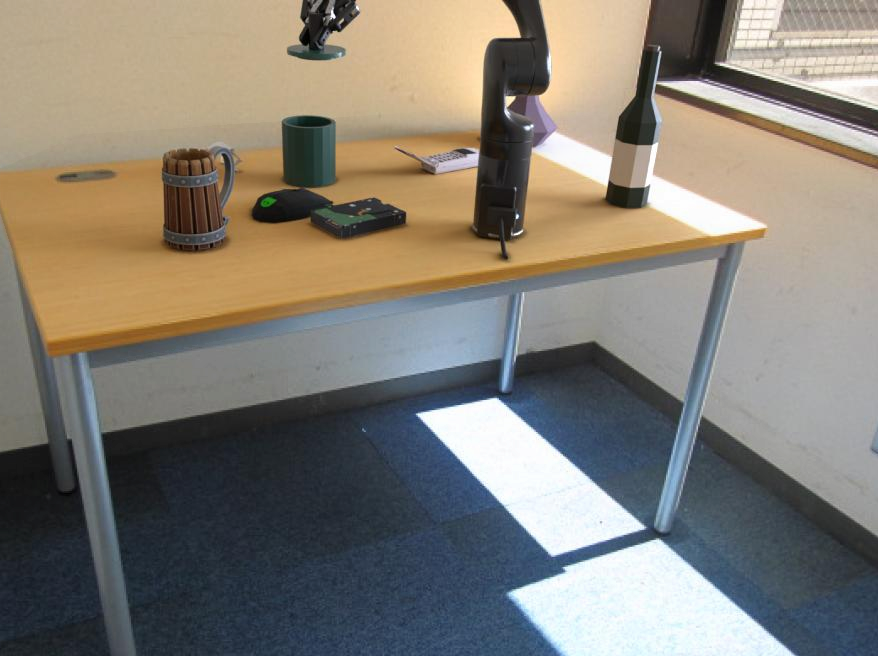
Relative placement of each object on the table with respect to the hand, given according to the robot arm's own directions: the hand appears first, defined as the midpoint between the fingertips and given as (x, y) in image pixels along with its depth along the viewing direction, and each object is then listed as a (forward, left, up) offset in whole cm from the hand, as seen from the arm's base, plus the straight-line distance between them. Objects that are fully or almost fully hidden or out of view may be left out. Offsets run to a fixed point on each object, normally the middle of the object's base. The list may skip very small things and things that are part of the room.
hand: (309, 44), depth 172 cm
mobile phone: (+19, -25, -27) cm, 41 cm away
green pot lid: (+2, -1, -2) cm, 3 cm away
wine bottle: (+10, -65, -27) cm, 71 cm away
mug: (-39, +5, -27) cm, 48 cm away
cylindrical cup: (0, 0, -27) cm, 27 cm away
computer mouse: (-20, -3, -27) cm, 34 cm away
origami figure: (0, +20, -27) cm, 34 cm away
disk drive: (-23, -18, -27) cm, 40 cm away
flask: (+49, -38, -27) cm, 67 cm away
